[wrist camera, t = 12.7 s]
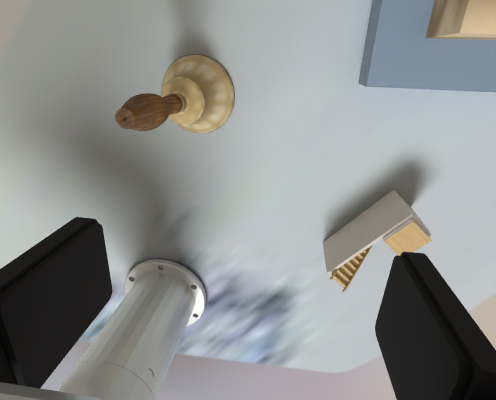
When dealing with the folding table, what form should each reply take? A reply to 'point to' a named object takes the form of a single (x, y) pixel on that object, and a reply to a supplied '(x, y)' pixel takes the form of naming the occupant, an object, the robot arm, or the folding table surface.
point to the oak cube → (463, 20)
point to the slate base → (422, 52)
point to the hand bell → (184, 98)
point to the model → (373, 236)
